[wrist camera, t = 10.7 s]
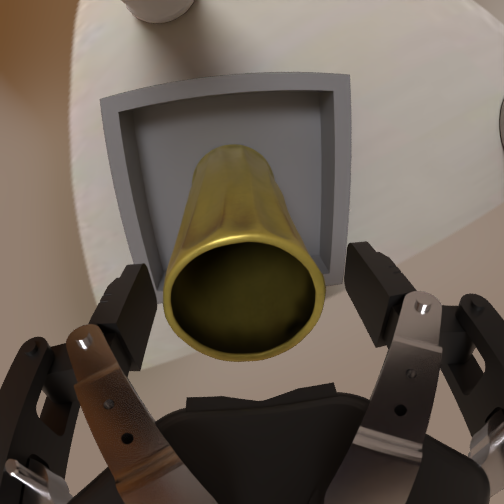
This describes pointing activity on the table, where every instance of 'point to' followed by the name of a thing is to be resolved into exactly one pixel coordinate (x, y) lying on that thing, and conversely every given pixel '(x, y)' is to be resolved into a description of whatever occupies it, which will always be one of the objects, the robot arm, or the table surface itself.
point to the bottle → (157, 9)
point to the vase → (240, 264)
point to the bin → (227, 133)
